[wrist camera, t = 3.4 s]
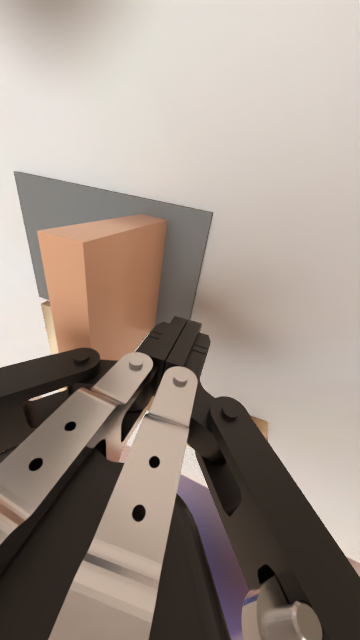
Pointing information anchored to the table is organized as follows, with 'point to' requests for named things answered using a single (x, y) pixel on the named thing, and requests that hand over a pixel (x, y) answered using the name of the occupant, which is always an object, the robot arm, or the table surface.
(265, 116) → the table surface
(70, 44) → the table surface
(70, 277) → the tile
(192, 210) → the mat
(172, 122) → the table surface
